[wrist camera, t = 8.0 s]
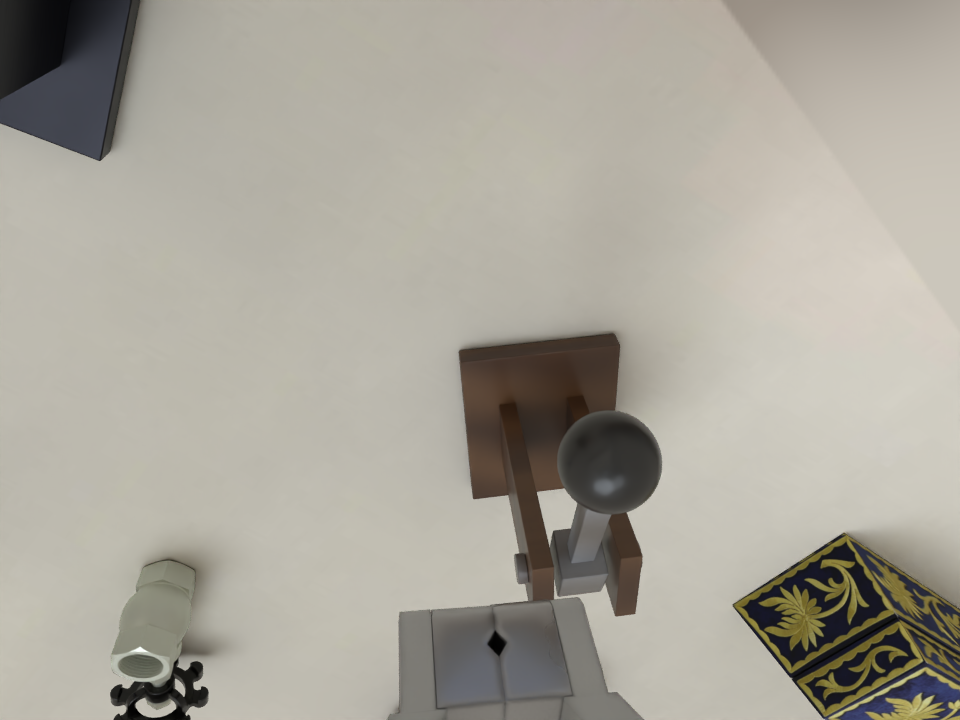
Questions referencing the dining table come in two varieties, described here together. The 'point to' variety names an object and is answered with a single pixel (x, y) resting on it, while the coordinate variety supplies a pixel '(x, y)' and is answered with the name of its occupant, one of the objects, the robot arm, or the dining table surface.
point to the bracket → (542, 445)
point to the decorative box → (860, 636)
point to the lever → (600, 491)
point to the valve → (157, 644)
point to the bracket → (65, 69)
